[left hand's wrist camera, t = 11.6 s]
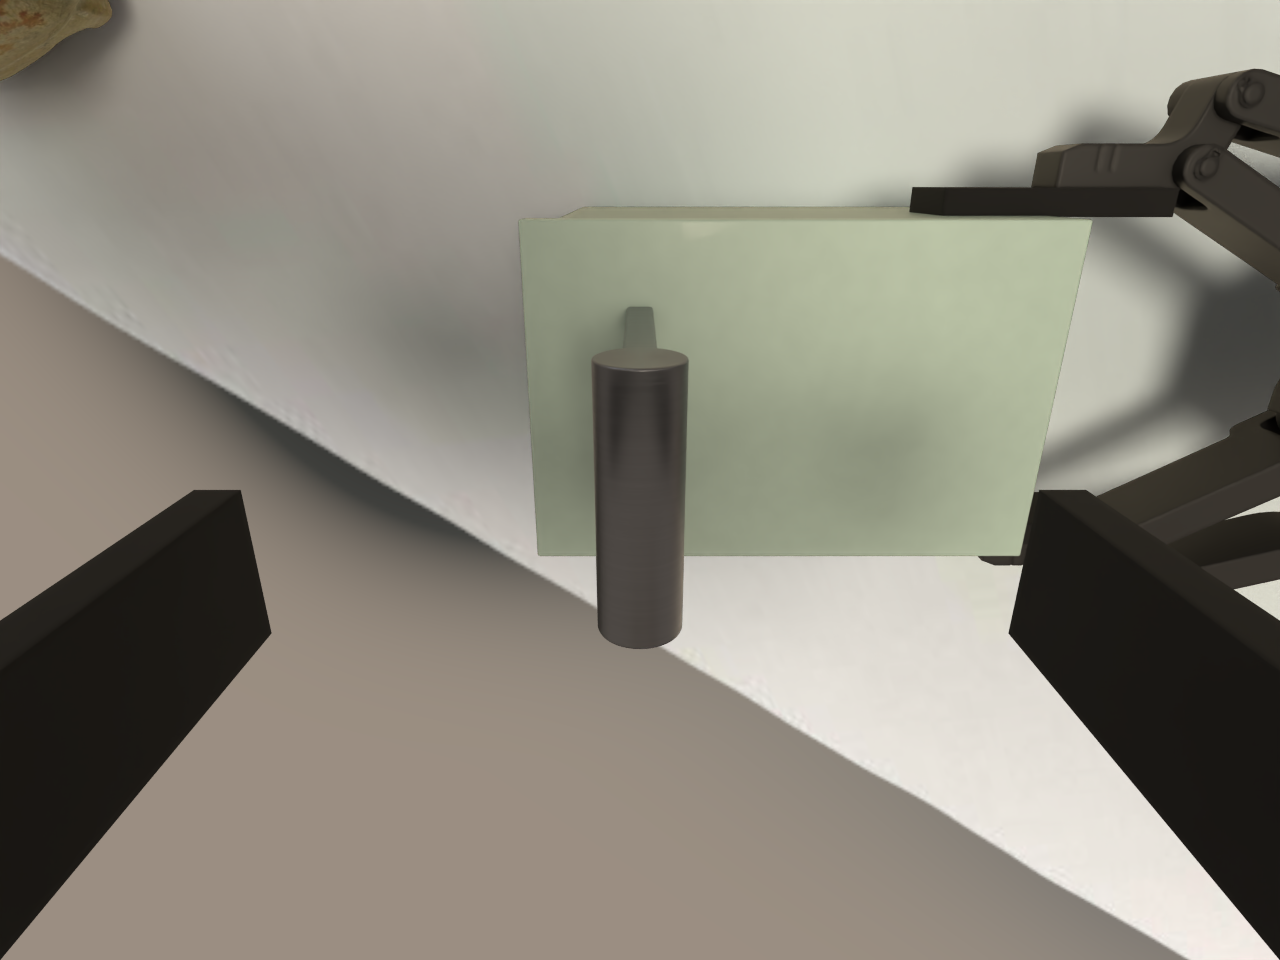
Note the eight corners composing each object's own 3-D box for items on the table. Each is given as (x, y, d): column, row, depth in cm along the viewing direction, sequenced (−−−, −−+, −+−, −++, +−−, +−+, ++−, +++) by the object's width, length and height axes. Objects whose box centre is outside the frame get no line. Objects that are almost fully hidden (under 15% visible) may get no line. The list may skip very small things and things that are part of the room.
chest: (588, 444, 32) (569, 543, 23) (581, 206, 28) (555, 218, 19) (906, 444, 32) (1007, 543, 23) (940, 206, 28) (1075, 218, 19)
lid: (541, 544, 23) (489, 731, 15) (522, 218, 19) (443, 243, 12) (1008, 544, 23) (1198, 731, 15) (1076, 218, 19) (1372, 243, 12)
